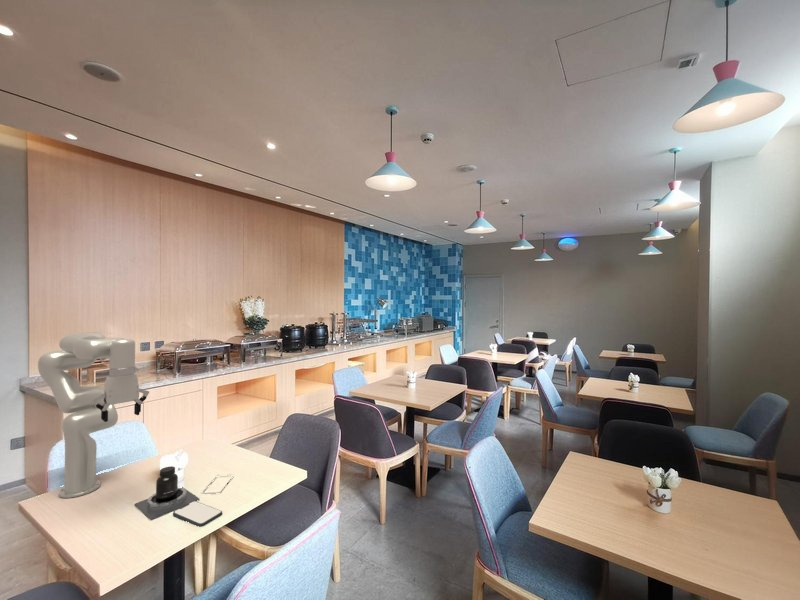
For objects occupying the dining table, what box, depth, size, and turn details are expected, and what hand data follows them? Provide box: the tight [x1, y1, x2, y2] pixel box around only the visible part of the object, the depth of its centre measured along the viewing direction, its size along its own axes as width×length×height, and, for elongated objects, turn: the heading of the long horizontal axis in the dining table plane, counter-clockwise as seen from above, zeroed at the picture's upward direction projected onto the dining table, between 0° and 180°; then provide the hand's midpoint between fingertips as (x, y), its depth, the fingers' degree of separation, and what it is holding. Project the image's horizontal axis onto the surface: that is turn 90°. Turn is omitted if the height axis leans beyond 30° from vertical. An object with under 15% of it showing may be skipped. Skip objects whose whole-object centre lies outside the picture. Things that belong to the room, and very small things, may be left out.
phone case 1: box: [172, 501, 223, 528], centre depth 125 cm, size 9×2×16 cm
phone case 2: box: [200, 473, 235, 495], centre depth 146 cm, size 7×1×15 cm
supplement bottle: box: [155, 466, 179, 503], centre depth 133 cm, size 7×7×12 cm
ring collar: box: [134, 486, 200, 521], centre depth 133 cm, size 16×16×3 cm
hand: (121, 417), depth 132 cm, fingers open, 9 cm apart
